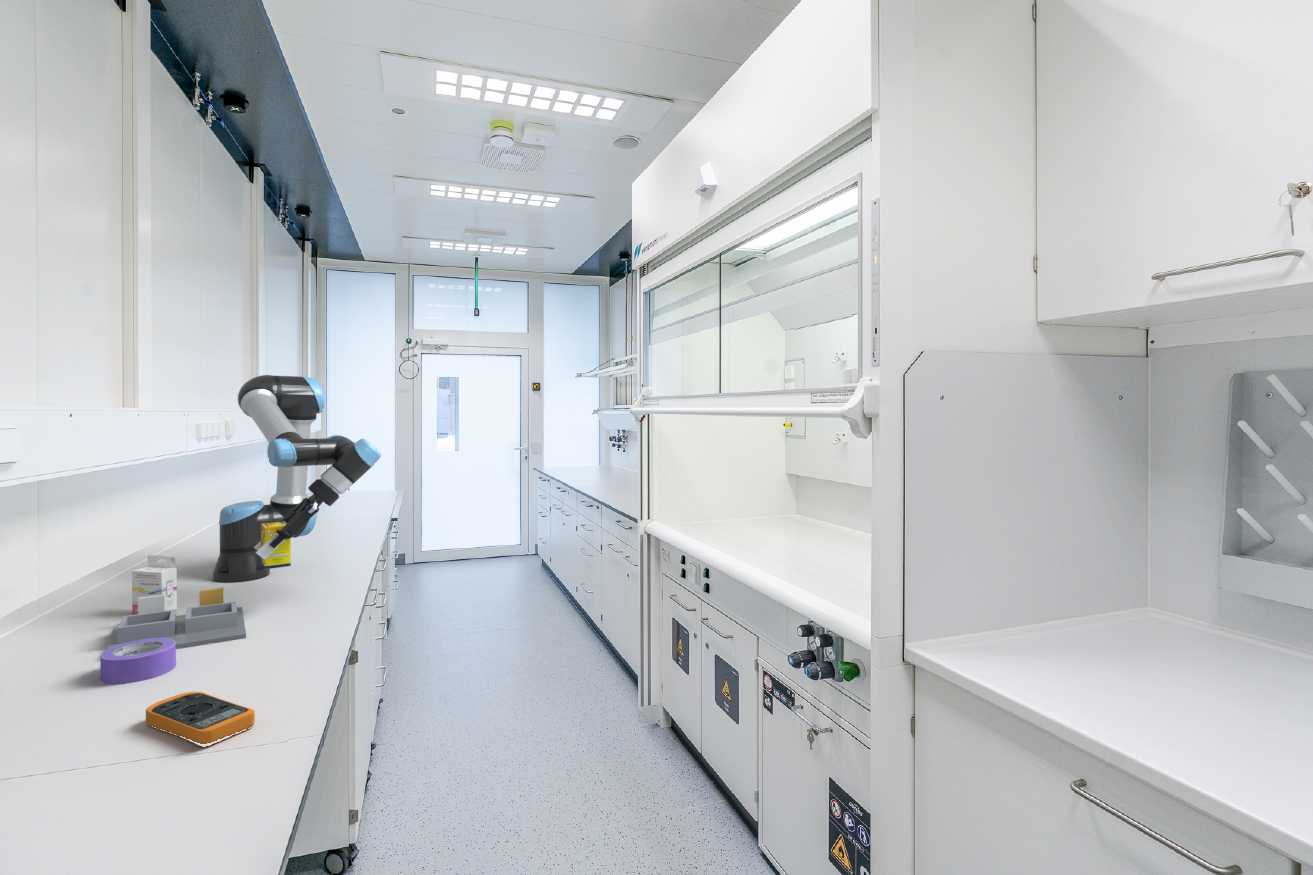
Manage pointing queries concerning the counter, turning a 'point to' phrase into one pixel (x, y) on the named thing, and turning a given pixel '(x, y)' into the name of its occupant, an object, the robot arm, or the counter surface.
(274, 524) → the supplement box
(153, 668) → the tape roll
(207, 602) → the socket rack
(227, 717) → the multimeter
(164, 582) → the ink cartridge box
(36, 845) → the counter surface
